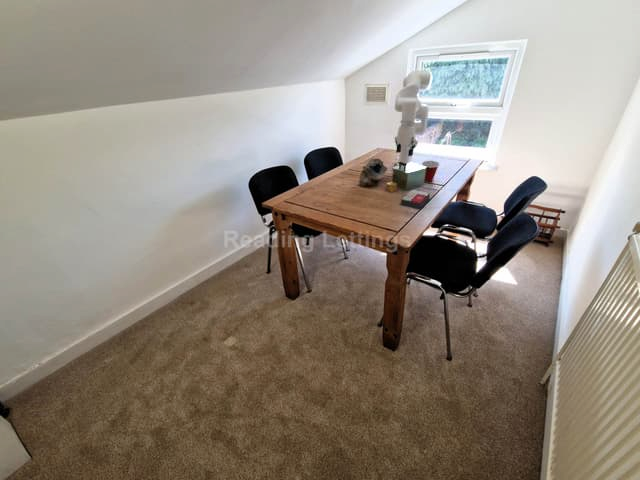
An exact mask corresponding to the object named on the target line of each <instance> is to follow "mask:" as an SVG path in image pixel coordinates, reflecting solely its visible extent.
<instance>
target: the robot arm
mask: <svg viewBox="0 0 640 480" xmlns="http://www.w3.org/2000/svg"><path fill="white" fill-rule="evenodd" d="M432 81H433V74H432V72H431V71H430V70H429V69H426V70H425V69H423V70H422V69H421V70H413V71H410V72H409V73H408V74H407V76H405V77H404V78H403V79H402V87H403V88H401V89H400V90H399V91H398V92H397V94H396V97H395V101H394V110H395V112H397V113H401V119H400V125H399V127H398V129H397V134H396V135H397V136H395V137H394V142H395V146H396V152H395V153H396V154H398V153H399V154H398V156H397V157H396V158H395V161H396V163H395V166H396V167H397V166H399V162H403V163H406V164H408V163H413V162H412V160H413V155H414V149H416V147H417V145H418V144H419V142H418V140H417V139H416V137H417V136H420V137H422V136H425V134H426V132H427V127H428V126H427V125H428V119H429V106H428V105H427V104H425V103H422V101H421V99H420V96H419V93H420V92H421V91H427V90H429V89H430V88H431V86H432Z"/></svg>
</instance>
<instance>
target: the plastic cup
mask: <svg viewBox="0 0 640 480" xmlns="http://www.w3.org/2000/svg"><path fill="white" fill-rule="evenodd" d="M421 166H423V167H426V172H425V179H424V183H432V182H433V181H434V178H435V176H436V173H437V170H438V168H439V167H440V162H438V161H436V160H423V161H422V162H421Z"/></svg>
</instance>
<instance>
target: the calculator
mask: <svg viewBox="0 0 640 480" xmlns="http://www.w3.org/2000/svg"><path fill="white" fill-rule="evenodd" d="M430 196H431V193H430V192H427V191H421V190H415V189H410V191H409V192H408V193H407V194H406V195H405V196H404V197H403V198H402V199H401V200H400V205H401V206H405V207H411V208H414V209H419V210H420V209H421V208H422V207H423V206H424V205H425V204H426V203H427V202H428V201H429V200H430Z"/></svg>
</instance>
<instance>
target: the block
mask: <svg viewBox="0 0 640 480" xmlns="http://www.w3.org/2000/svg"><path fill="white" fill-rule="evenodd" d="M396 186H397V184H396V183H394V182H392V181H388V182H386V184H385V191H388V193H393V192H395V191H397V187H396Z"/></svg>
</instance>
